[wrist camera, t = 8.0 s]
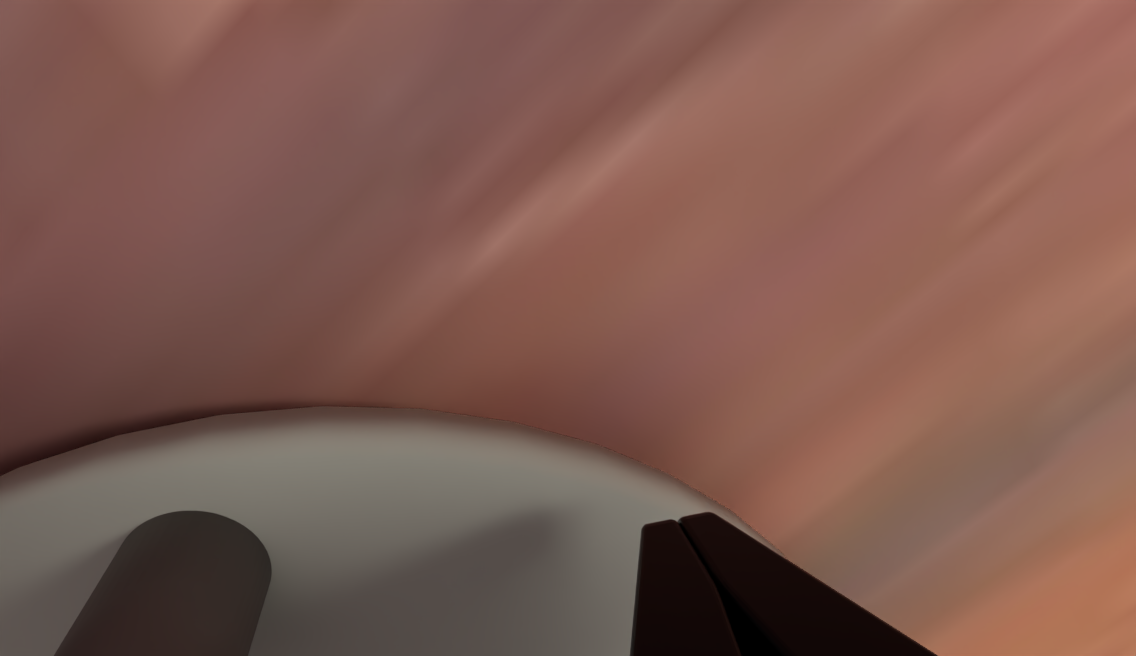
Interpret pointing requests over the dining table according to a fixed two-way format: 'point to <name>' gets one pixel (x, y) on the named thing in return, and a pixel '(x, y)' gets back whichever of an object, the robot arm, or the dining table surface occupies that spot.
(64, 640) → the turntable
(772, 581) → the robot arm
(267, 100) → the dining table surface
